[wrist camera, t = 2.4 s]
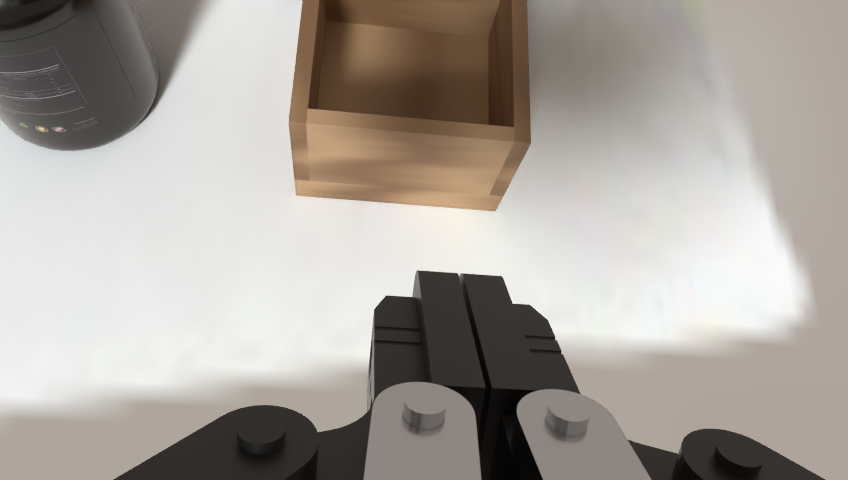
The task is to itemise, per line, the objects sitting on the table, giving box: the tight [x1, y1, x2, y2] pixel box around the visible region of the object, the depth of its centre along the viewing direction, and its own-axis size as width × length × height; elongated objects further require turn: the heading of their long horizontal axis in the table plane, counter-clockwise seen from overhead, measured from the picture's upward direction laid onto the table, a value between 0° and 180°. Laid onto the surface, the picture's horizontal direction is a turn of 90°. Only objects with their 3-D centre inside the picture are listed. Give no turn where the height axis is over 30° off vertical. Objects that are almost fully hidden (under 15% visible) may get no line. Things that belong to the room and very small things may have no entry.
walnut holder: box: [289, 0, 531, 211], centre depth 30 cm, size 9×9×6 cm
